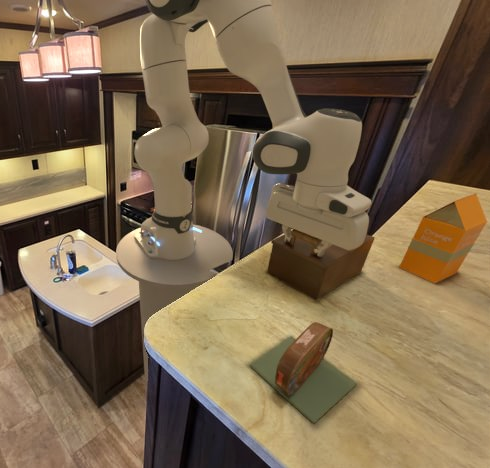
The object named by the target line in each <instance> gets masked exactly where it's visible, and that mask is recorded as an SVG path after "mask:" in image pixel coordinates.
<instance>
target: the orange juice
mask: <svg viewBox="0 0 490 468" xmlns="http://www.w3.org/2000/svg"><path fill="white" fill-rule="evenodd" d="M487 223H488V220H487V218H486V215H485V212H484V210H483V207H482V205H481V202H480V200H479V197H478V195H477V193H473V194H471V195H468V196H465V197H462V198H459V199H456V200H454V201H452V202H450V203H448V204H446V205H444V206H442V207H440V208H438V209H436V210H434V211H432V212H430V213H428V214H426V215H424V216H422V218H421V220H420V222H419V224H418V227H417V229H416V231H415V233H414V235H413V237H412V239H411V241H410V243H409V244H408V247H407V250H406V252H405V254H404V256H403V258H402V260H401V262H400V264H399V266H398V268H399V269H402V270H403V271H406V272H408V273H410V274H413V275H414V276H418V277H420V278H422V279H424V280H427V281H428V282H431V283H433V284H437V283H439V282H441V281H443V280H445V279H447V278H450V277H452V276H453V275H456V274H457V273H458V271H459V269H460V268H461V266H462V264H463V263H464V261H465V259H466V258H467V256H468V254H469V253H470V252H471V250H472V248H473V246H474V245H475V243H476V241H477V239H478V238H479V236H480V235H481V233H482V231H483V230H484V228H485V226H486V225H487Z"/></svg>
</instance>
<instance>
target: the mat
mask: <svg viewBox="0 0 490 468" xmlns="http://www.w3.org/2000/svg"><path fill="white" fill-rule="evenodd" d="M296 339H297V338H294V337H293V336H289V337H288V338H286V339H284V340H283V341H281V342H280V343H279V344H277V345H276V346H274V347H273V348H271V349H270V350H268V351H267V352H265V353H264V354H263V355H262V356H261V355H260V357H258V358H257V359H255V360H254V361H252V362H251V363H250V364H249V367H250V368H251V369H252V370H253V371H254V372H255V373H256V374H258V375H259V377H261V378H262V379H264V381H266V382H267V383H268V385H270V386H271V387H272V388H273V389H274V390H276V392H277V393H279V394H280V395H281V396H282V397H283V398H284V399H285V400H286V401H288V402H289V403H290V404H291V405H292V406H293V407H294V408H295V409H296V410H298V411H299V412H300V413H301V414H302V415H303V416H304V417H305V418H306V419H308V421H310V423H312V424H313V425H314V424H316V423H317V422H318V421H319V420H320V419H321V418H322V417H323V416H325V415H326V414H327V413H328V412H329V411H330V410H331V409H332V408H333V407H334V406H335V405H336V404H338V402H340V401H341V400H342V399H343V398H344V397H345V396H346V395H348V393H349V392H351V391H352V390H353V389H354V388H355V387H356V386H357V385H358V383H357V381H355V380H354V379H352V378H350V377H349V376H348V375H347V374H345V373H344V372H342V371H341V370H339V369H338V368H337V367H335V366H334V365H333V364H331V363H329V362H328V361H327V360H325V359H324V358H323V359H322V361H321V362H320V364H319V365H318V366H317V368H316V369H315V370H314V371H313V372H312V373H311V375H310V376H309V377H308V378H307V379H306V381H305V382H304V383H303V384H302V385H301V387H300V388H299V389H298V390H297V391H296V392H295V393H294V394H292V395H289V394H288V393H287V392H286V391H284V390H283V389H281V388H280V387H279V386H277V385H276V384H275V376H276V369H277V365H278V363H279V361H280V359H281V357H282V355H283V354H284V352H285V351H286V349H287V348H288V347H289V346H290V345H291V344H292V343H293V342H294V341H295V340H296Z"/></svg>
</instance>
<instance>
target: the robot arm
mask: <svg viewBox="0 0 490 468" xmlns="http://www.w3.org/2000/svg"><path fill="white" fill-rule="evenodd" d="M144 1H145V4H146V6H147V8H148V10H149V11H150V12H151V13H152V14H150V15H149V16H147V17H146V18H145V19H144V21H143V22H142V24H141V26H140V33H139V34H140V35H139V49H140V53H139V54H140V64H141V73H142V80H143V85H144V92H145V99H146V103H147V106H148V107H149V108H150V109H151V110H153V111H154V112H155V113H156V115H157V116H158V118H159V121H160V123H161V127H156V128H154V129H151V130H149V131H147V133H145V134H143V135H142V136H140V137H138V139H137V141H136V142H135V144H134V152H133V153H134V159H135V161H136V163H137V165H138V166H139V168H140V169H141V170H143V171H144V172H145V173H147V174H148V176H149V178H150V180H151V183H152V186H153V197H154V207H153V206H152V207H150V212H152V214H151V217H149V218H146V219H145V220H144V221H143V222H142V223H141V224H140V228H141V231H140V232H138V233H137V234H136V235H135V236H134V238H135V240H136V241H137V243H138V244H139V245H140V247H141V248H142V249H143V251H144V252H145V253H146V255H147V256H148V257H149V258H161V259H166V260H180V259H184V258H187V257H189V256H191V255H192V254H193V253H194V251H195V247H194V244H195V241H196V240H195V237H194V234H193V230H196V231H198V232H201V233H202V231H201V230H199V229H196V228H194V227H193V224H194V221H193V216H194V213H193V208H192V199H193V198H192V195H193V185H192V184H191V182H190V181H189V180H188V179H187V178H186V177H185V174H184V169H183V167H184V163H187V162H189V161H193V160H194V159H196V158H197V157H199V155H201V154H202V153H203V152H204V151H205V150H206V149H207V147H208V145H209V141H210V136H209V135H210V134H209V130H208V129H207V127H206V126H205V124H203V123H202V122H201V121H200V119H199V117H198V115H197V112H196V110H195V107H194V104H193V101H192V98H191V97H192V96H191V93H190V92H191V91H190V85H189V83H190V82H189V75H188V74H189V73H188V65H187V64H188V63H187V53H186V37H187V35H188V32H190V33H195V32H197V31H198V30H199V29H200V28H202V27H203V26H204V25H206V24H207V23H208V24H209V26H210V29H211V31H212V35H213V38H214V42H215V45H216V47H217V51H218V53H219V56H220V58H221V60H222V61H223V63H224V66H225V67H226V68H227V70H228V71H229V73H231V74H233V75H234V76H237V77H239V78H241V79H243V80H245V81H247V82H249V83H250V84H252V85H253V86H254V87H255V88H256V89H257V90H258V92H259V93H260V95H261V98H262V100H263V102H264V105H265V108H266V110H267V113H268V116H269V119H270V121H271V124H272V128H271V129H269V130H268V131H266V132H265V133H263V134H262V135H260V136H259V137H258V138H257V139H256V141H255V143H254V145H253V148H252V160H253V162H254V164H255V166H256V167H257V169H259V170H260V171H261V172H263V173H265V174H268V175H296V179H295V184H294V185H292V184H286V183H285V182H279V183H276V184H274V185H273V186H272V187H271V192H270V198H269V200H268V203H267V206H266V209H265V216H266V218H267V219H268V220H271V221H273V222H275V223H278V224H280V225H281V229H282V232H283V235H285V239H284V241H285V242H287V243H289V244H290V243H291V238H292V235H291V231H292V230H293V229H295V230H298V231H300V232H303V233H305V234H308V235H310V236H313V237H316V238H318V239H321V240H322V244H323V245H324V246H322V247H321V246H318V247H316V248H314V252H313V254H314V255H316V256H318V257H321V256H323V255H324V253H325V250H326V249H327V248H328V247H330V246H331V245H332V244H333V245H336V246H338V247H341V248H343V249H346V250H353V249H355V248H358V247H359V246H361V245H362V244H363V242H364V240H365V237H366V234H367V233H368V229H369V224H370V216H369V215H368V212H367V210H368V209H370V208H371V206H372V200H371V198H369V197H367V196H366V195H364V194H362V193H360V192H358V191H357V190H355V189H353V188H352V187H351V186H349V185H348V182H349V172H350V168H351V166H352V165H353V164H354V162H355V159H356V157H357V153H358V149H359V146H360V142H361V137H362V132H363V131H362V130H363V123H362V119H361V118H360V117H359V116H358V114H356V113H354V112H352V111H349V110H345V109H339V108H321V109H320V108H319V109H318V110H316V111H315V112H313V113H312V114H310V115H307V114H306V113H305V112H304V110H303V108H302V105H301V103H300V99H299V97H298V94H297V91H296V88H295V86H294V83H293V80H292V77H291V74H290V72H289V68H288V66H287V62H286V58H285V54H284V50H283V46H282V42H281V37H280V31H279V27H278V23H277V19H276V15H275V12H274V8H273V4H272V2H271V0H144ZM367 235H368V234H367Z"/></svg>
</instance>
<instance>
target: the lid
mask: <svg viewBox="0 0 490 468" xmlns="http://www.w3.org/2000/svg"><path fill="white" fill-rule="evenodd" d="M291 235H292V238H291V243H290V244H289V243H287V242H285V241H284V239H285V235H284V234H282V235H280V236H278V237H275V238H273V239H272V240H271V242H270V243H271V245H273V244H275V245H277V246H279V247H281V248H283V249H285V250H287V251H290V252H292V253H294V254H296V255H298V256H300V257H302V258H304V259H307V260H309V261H311V262H313V263H315V264H317V265H319V266H322V267H324V268H326V267H328V266H330V265H332V264H333V263H335V262H337V261H339V260H340V259H342V258H344V257H345V256H347V255H349V254H351V253H352V252H354V251H356V250H357V249H359V248H361V247H363V246H364V245H366V244H368V243H369V242H371V241H373V240H374V241H375V239H376V237H375V236H372V235H369V234H366V237H365V240H364V242H363V244H362V245H361V246H359V247H358V248H355V249H353V250H346V249H343V248H341V247H338V246H336V245H333V244H332V245H331V246H330V247H328V248H327V249H326V250H325V253H324V255H323V256H321V257H318V256H316V255H314V254H313V252H314V248H316V247H318V246H321V247H322V246H324V245H323V244H322V240H321V239H318V238H316V237H313V236H310V235H308V234H305V233H303V232H300V231H298V230H295V229H293V228H292V229H291ZM374 241H373V242H374Z"/></svg>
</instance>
